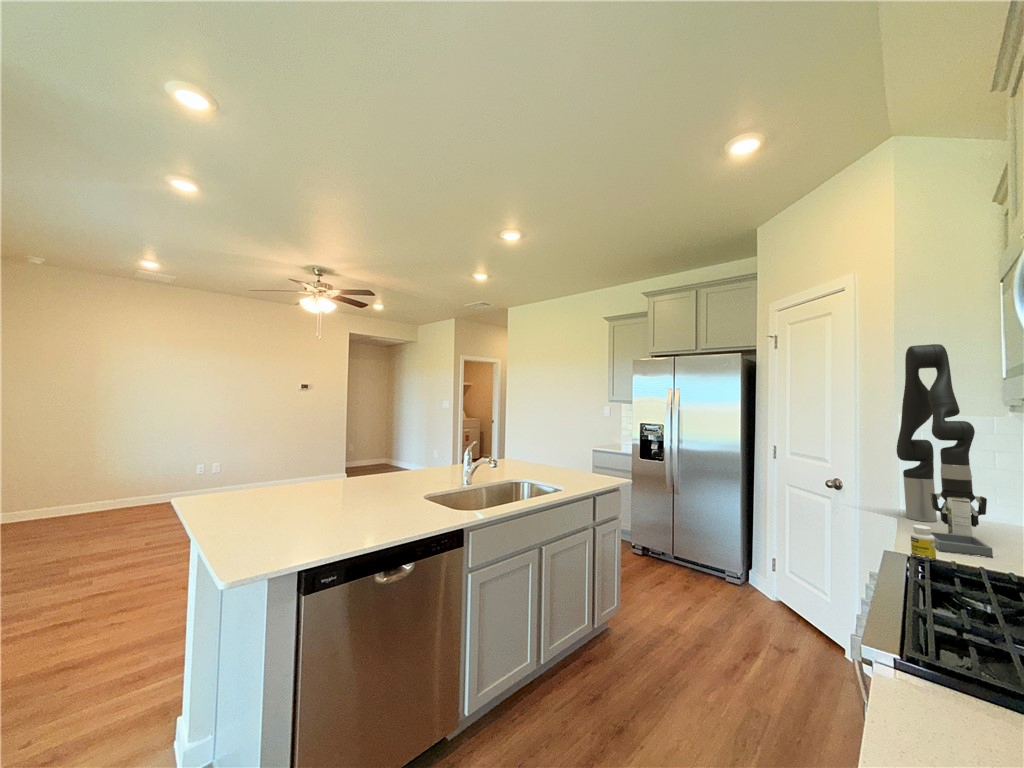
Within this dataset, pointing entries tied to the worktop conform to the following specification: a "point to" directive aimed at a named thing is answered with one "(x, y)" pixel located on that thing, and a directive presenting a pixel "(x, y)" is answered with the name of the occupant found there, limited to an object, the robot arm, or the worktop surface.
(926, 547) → the supplement bottle
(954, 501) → the syrup box
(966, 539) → the tray
